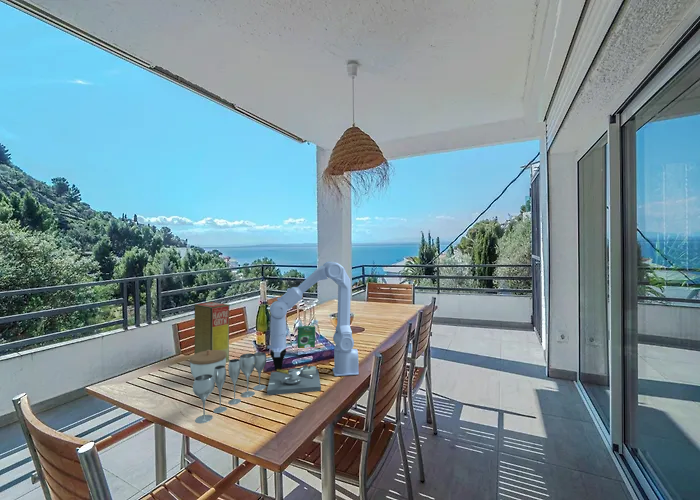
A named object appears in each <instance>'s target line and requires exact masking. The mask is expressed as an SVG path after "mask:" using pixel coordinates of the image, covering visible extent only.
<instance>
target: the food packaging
mask: <svg viewBox="0 0 700 500" xmlns="http://www.w3.org/2000/svg"><path fill="white" fill-rule="evenodd" d="M207 350H221V351H225V352H226V363H229V361H230V304H226V303H222V302H215V301H209V302H201V303H195V304H194V354H196V353H199V352H203V351H207ZM194 354H193V355H194Z"/></svg>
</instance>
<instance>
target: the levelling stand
mask: <svg viewBox="0 0 700 500" xmlns="http://www.w3.org/2000/svg"><path fill="white" fill-rule="evenodd" d="M301 373H303V374H308V375H313V379H309V378H304V377H301V382H300V383H298V384H285V383H284V382H283V383H282V384H281V383H280V380H281V379H283V378H284V377H285V376H288V374H285V373H280V372H277V371H271V372H270V375H269V381H268V385H267V389H266V396H270V395H271V396H273V395H284V394H285V395H286V394H287V395H288V394H295V393H296V394H298V393H311V392H321V391H322V384H321V379H320V373H319V369H318V368H317V367H316V365H313V366H308V367H307V368H306V369H305V370H303V371H301Z"/></svg>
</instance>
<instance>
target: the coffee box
mask: <svg viewBox="0 0 700 500" xmlns="http://www.w3.org/2000/svg"><path fill="white" fill-rule="evenodd" d="M296 345H297V346H298V348H307V347H315V348H316V325H313V324H312V325H303V326H297V344H296ZM297 346H296V347H297Z"/></svg>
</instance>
